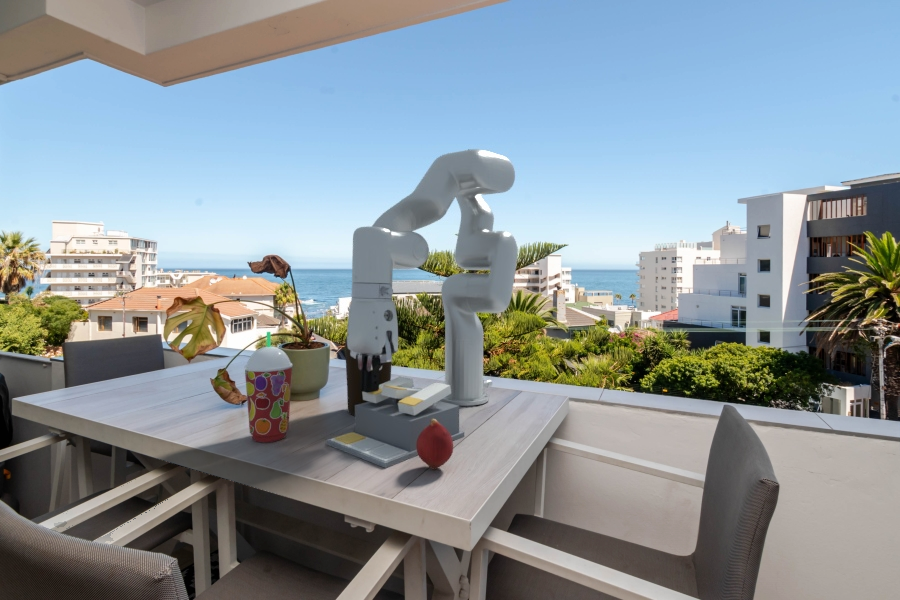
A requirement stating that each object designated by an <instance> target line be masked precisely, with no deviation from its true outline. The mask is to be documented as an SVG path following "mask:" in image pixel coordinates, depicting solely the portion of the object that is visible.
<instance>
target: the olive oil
mask: <svg viewBox="0 0 900 600" xmlns="http://www.w3.org/2000/svg"><path fill="white" fill-rule="evenodd" d="M350 352H351V350H349V349H348V346H347V337H346V338H345V341H344V354H345V372H346V373H345V374H346V389H347V390H346V391H347V392H346V393H347V395H346V396H347V411H348V414H349V415H351V416H355V405H358V404H362V403H366V402H369V401H366V400H363V395H362V391H360V374H361V370H360V369H359V367H358V361H357V360H356V359H355V358H353V357H352V356H351V355H350ZM391 355H392V356H393V354H391ZM366 356H367V355H366ZM374 359H375V358H374ZM392 361H393V360H392ZM392 361H391V362H386V363H384V364H383V365H382V369H381V370H379V385H380V384H383V383H385V382H388V381H390V380H392Z"/></svg>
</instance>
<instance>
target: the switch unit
mask: <svg viewBox="0 0 900 600" xmlns="http://www.w3.org/2000/svg"><path fill="white" fill-rule="evenodd" d="M398 403H399V400H398V398H394V399H391V398H387V399H385V400H383V401H380V402H378V403H373V402H366V403H362V404H358V405H355V415H354V431H351V432H348V433H344V434H342V435H338V436H335V437H331V438H328V439H326V441H325V442H326V445H327V446H329V447H332V448H335V449H336V450H339V451H341V452H345V453H346V454H349V455H352V456H355V457H357V458H359V459H362V460H365V461H366V462H370V463H372V464H375V465H377V466H380V467H382V468H385V469H387V468H389V467H392V466H394V465H398V464H400V463H401V462H405V461H406V460H409V459H411V458H412V459H413V458H414V457H416V456H419V455H418V453H417V447H416V443H417V439H418V436H419V435H420V433H421V432H422V431H423V430H424V429H425V428H426V427H427V426H429V425H430V423H431V422H430V420H431V419H436V420H437V422H439V423H440V424H441V425H442V426H444V427H445V428H446V429H447V430H448V431H449V433H450V435H451V437H452V440H453V442H454V441H456V440H458V439H461V438H464V437H465V431H461V430H460V406H458V405H454V404H449V403H445V402H441V401H440V400H439V401H438V402H436V408H435V409H430V408H426V409H424V410H423V411H421V412H419V413H418V414H416V415H415V416H414V415H411V414H407V413H403V412H400V411H399V407H398Z"/></svg>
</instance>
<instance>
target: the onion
mask: <svg viewBox="0 0 900 600" xmlns="http://www.w3.org/2000/svg"><path fill="white" fill-rule="evenodd" d="M430 422H431V423H430V425H429V426H427V427H426V428H425V429H424V430H423V431H422V432H421V433H420V435H419V436H418V439H417V443H416V447H417V453H418V455H417V456H418V457H419V459H421V461H423V463H425V464H426V466H428V467H429V468H430V469H431V470H437V469H439V468H440V467H442V466H444V465H445V464H446V463H447V462H448V461H449V460H450V458H451V456H452V455H453V452H454V441H453V440H452V437H451V435H450V433H449V431H448V430H447V429H446V428H445V427H444V426H442V425H441V424H440V423H439V422H437V420H436V419H431V420H430Z"/></svg>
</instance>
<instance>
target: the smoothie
mask: <svg viewBox="0 0 900 600" xmlns="http://www.w3.org/2000/svg"><path fill="white" fill-rule="evenodd" d="M271 334H272V333H271V331H266V346H263V347H261V348H259V349H256V350H255V351H254V352H253V353H252V354H251V355H250V357H249V358H248V360H247V362H246V364H245V365H244V376H245V388H246V389H245V390H246V401H247V414H248V415H247V416H248V427H249V434H250V435H252V439H253V441H255V442H257V443H273V442H277V441H280V440H282V439H284V438H285V437H286V434H287V431H289V429H290V428H289V427H290V425H289V424H290V409H291V389H292V374H293V373H292V371H293V363H292V362H291V359H290V358H289V356H288V355H287V353H286V352H285V351H284V350H282V349H281V348H278V347H277V346H272V345H271V344H272V343H271V337H272V335H271Z"/></svg>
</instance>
